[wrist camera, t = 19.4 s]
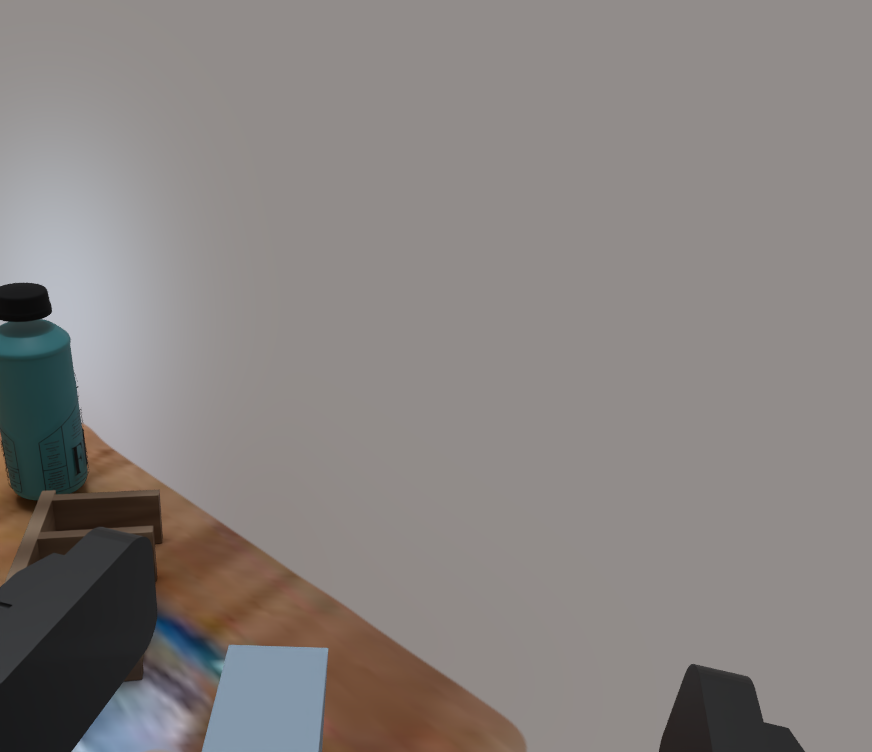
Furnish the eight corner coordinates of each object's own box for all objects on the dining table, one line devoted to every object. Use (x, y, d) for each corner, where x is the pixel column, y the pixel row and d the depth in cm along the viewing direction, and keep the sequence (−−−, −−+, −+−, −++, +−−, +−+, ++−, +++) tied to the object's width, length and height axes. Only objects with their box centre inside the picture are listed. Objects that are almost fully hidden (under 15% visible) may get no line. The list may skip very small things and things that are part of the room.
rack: (142, 679, 49) (136, 625, 47) (-6, 695, 47) (-19, 639, 45) (163, 532, 63) (160, 485, 61) (49, 539, 60) (42, 490, 58)
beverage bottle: (89, 511, 64) (64, 301, 56) (4, 520, 62) (-36, 303, 53) (93, 470, 70) (70, 274, 61) (15, 478, 67) (-20, 275, 59)
